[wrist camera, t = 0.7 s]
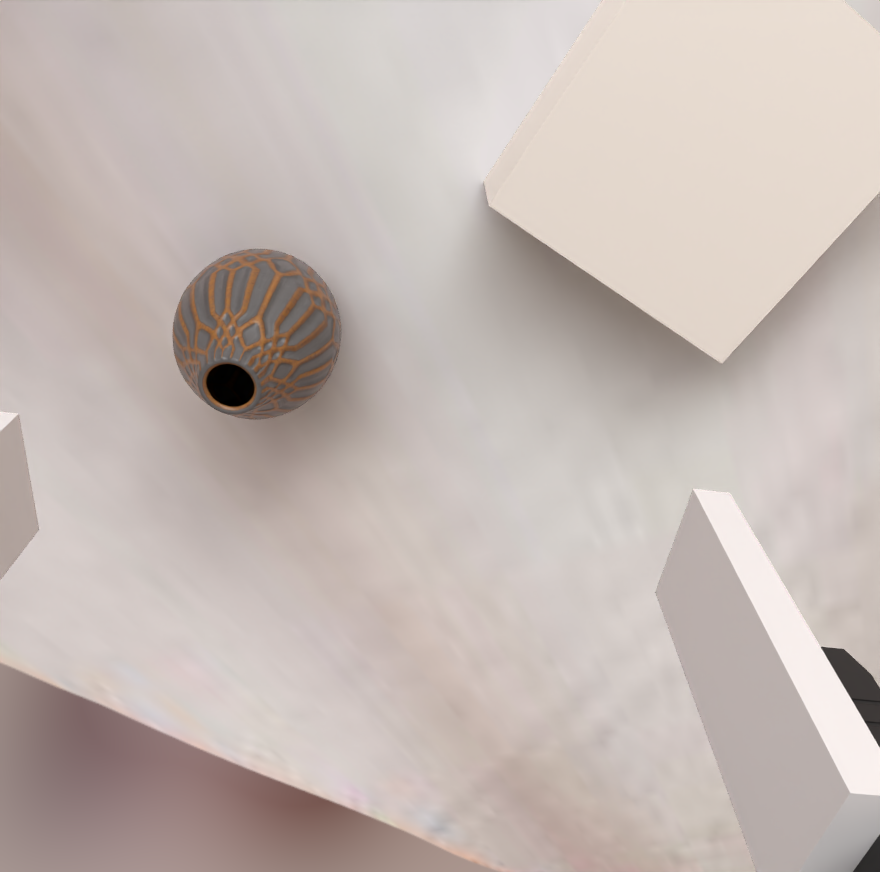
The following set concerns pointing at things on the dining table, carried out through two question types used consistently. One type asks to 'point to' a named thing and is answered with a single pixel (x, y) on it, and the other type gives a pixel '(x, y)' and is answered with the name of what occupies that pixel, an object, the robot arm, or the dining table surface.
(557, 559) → the dining table surface
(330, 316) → the vase
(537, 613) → the dining table surface
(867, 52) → the riser block
